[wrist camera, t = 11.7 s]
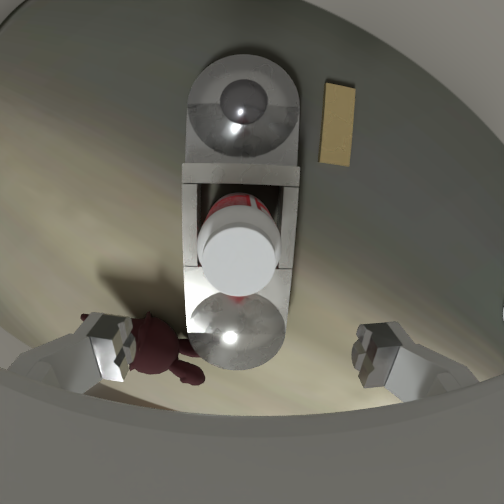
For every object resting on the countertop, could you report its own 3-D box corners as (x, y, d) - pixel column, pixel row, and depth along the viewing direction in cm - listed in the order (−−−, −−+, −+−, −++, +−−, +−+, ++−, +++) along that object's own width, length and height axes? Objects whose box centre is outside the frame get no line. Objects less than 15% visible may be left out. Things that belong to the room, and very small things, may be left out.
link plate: (322, 85, 25) (326, 82, 24) (351, 91, 25) (355, 88, 24) (316, 161, 28) (319, 162, 26) (344, 165, 28) (349, 166, 27)
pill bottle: (198, 238, 29) (175, 285, 19) (222, 181, 27) (211, 197, 17) (255, 262, 30) (263, 319, 20) (281, 207, 28) (305, 239, 18)
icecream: (68, 357, 26) (192, 404, 30) (68, 318, 22) (217, 376, 26) (89, 314, 32) (199, 357, 36) (95, 272, 28) (221, 324, 32)
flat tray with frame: (193, 59, 23) (188, 49, 20) (297, 63, 24) (304, 53, 21) (194, 352, 33) (190, 368, 31) (277, 354, 34) (280, 370, 31)
